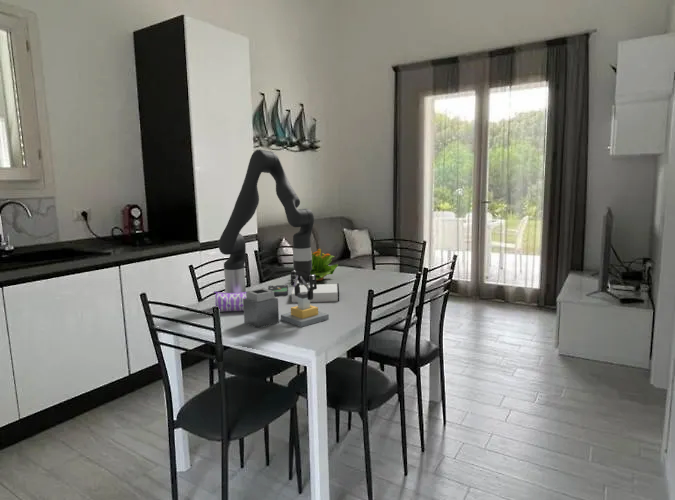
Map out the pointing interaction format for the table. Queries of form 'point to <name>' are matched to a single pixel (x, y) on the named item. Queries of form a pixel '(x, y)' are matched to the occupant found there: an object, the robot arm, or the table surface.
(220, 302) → the pencil case
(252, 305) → the grey open sleeve
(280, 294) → the disk drive
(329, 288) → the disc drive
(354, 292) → the table surface
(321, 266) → the potted flower
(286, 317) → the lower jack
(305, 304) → the plug
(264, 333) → the table surface
